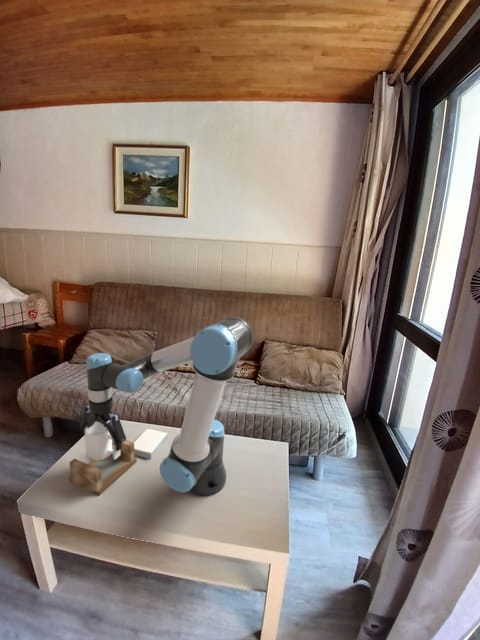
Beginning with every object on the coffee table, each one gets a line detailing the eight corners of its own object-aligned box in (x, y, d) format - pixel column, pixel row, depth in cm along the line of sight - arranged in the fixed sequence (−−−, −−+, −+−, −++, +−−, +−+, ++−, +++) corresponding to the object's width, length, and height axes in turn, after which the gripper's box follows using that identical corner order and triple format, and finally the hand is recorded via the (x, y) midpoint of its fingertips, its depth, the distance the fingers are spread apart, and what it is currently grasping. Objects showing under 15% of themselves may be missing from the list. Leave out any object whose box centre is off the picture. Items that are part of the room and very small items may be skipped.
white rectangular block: (167, 438, 134) (167, 432, 133) (151, 459, 120) (151, 453, 120) (147, 433, 136) (147, 428, 135) (128, 453, 123) (128, 447, 122)
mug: (109, 466, 106) (108, 439, 103) (80, 458, 109) (78, 431, 106) (125, 451, 114) (124, 425, 111) (98, 443, 117) (96, 418, 114)
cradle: (136, 461, 118) (136, 443, 116) (99, 495, 102) (98, 474, 100) (108, 450, 123) (107, 433, 121) (69, 481, 107) (67, 461, 105)
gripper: (136, 401, 105) (137, 455, 110) (83, 385, 113) (86, 436, 119) (120, 412, 98) (122, 469, 103) (65, 393, 106) (69, 447, 112)
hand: (103, 451), depth 111 cm, fingers closed on mug, 12 cm apart
